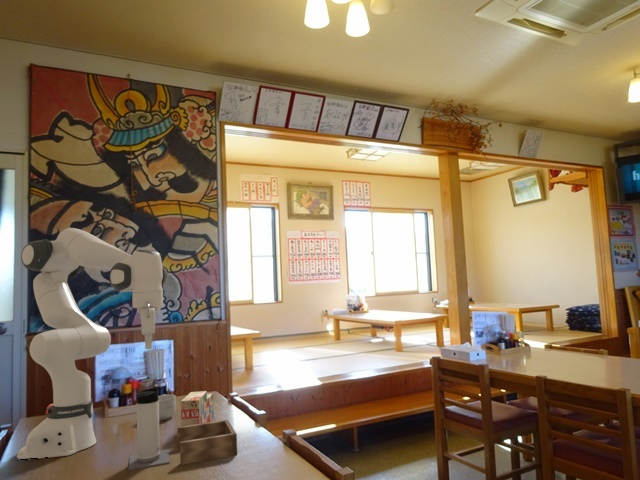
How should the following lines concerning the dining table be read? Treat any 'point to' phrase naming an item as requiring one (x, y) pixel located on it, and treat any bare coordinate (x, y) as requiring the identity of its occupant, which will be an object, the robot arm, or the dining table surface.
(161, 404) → the teacup
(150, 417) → the travel mug
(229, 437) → the walnut box
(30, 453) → the robot arm
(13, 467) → the dining table surface
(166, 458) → the grey square plate
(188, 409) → the stack of blocks
